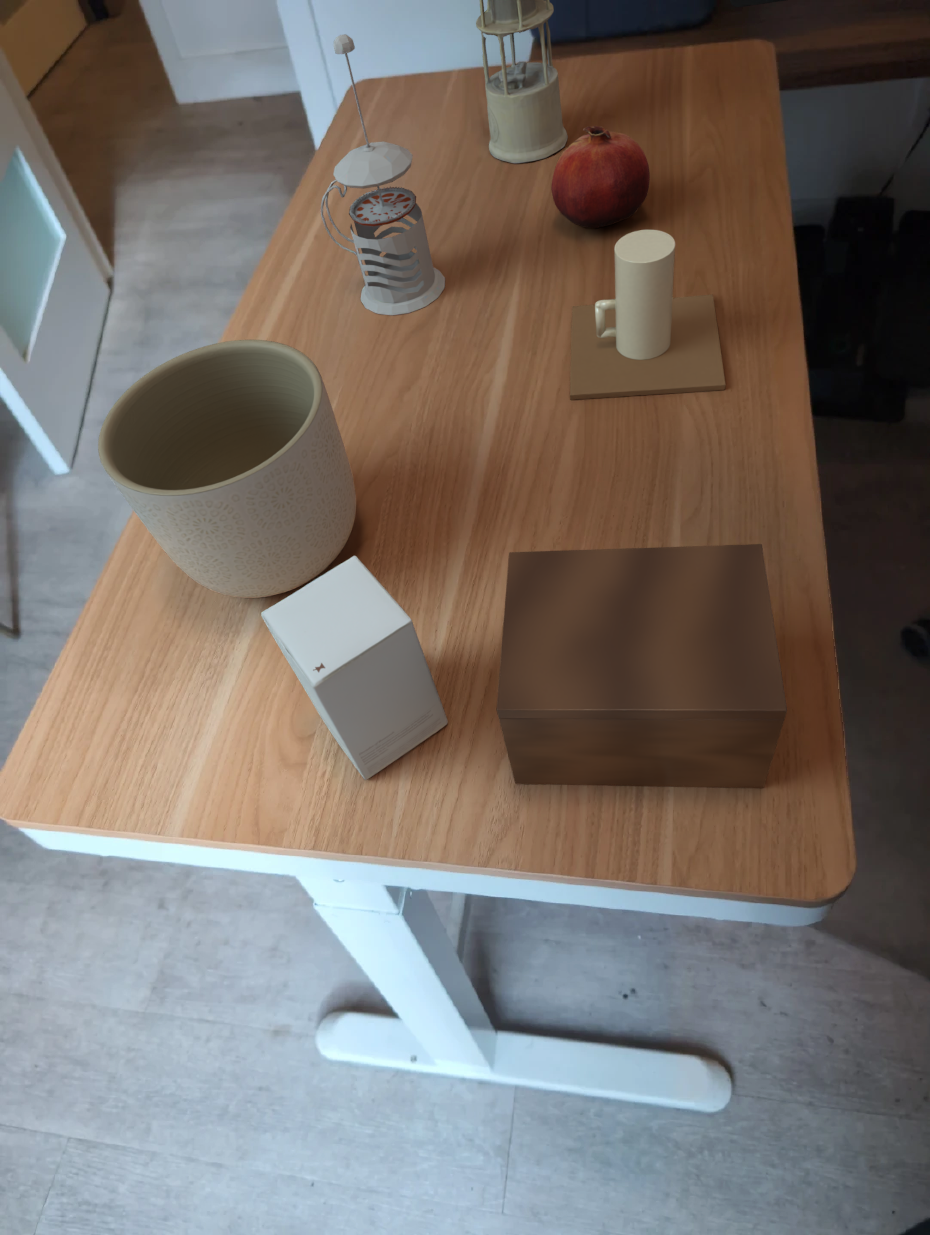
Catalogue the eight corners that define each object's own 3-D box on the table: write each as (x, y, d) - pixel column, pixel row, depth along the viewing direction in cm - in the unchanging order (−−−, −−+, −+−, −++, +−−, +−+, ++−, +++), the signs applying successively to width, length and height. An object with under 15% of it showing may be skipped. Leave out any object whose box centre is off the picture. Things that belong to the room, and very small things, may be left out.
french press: (434, 314, 90) (379, 54, 70) (334, 316, 93) (254, 66, 73) (453, 262, 95) (407, 7, 75) (358, 266, 98) (289, 20, 78)
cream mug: (669, 324, 82) (673, 226, 74) (672, 357, 79) (677, 259, 71) (596, 330, 83) (593, 234, 75) (596, 363, 80) (592, 267, 72)
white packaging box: (452, 724, 60) (416, 621, 50) (364, 783, 58) (308, 689, 48) (399, 658, 64) (356, 551, 54) (316, 712, 62) (255, 611, 52)
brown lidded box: (744, 634, 60) (761, 543, 52) (763, 788, 53) (787, 710, 45) (523, 637, 63) (508, 551, 55) (515, 783, 56) (496, 710, 48)
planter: (332, 639, 66) (266, 506, 54) (151, 611, 71) (52, 484, 59) (399, 485, 75) (355, 342, 63) (234, 470, 80) (164, 334, 68)
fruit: (547, 245, 94) (540, 155, 86) (562, 199, 100) (556, 109, 92) (643, 244, 91) (644, 150, 83) (653, 196, 97) (655, 103, 89)
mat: (712, 299, 84) (713, 294, 83) (725, 390, 76) (725, 384, 75) (572, 311, 86) (572, 306, 86) (570, 400, 78) (569, 395, 78)
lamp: (477, 163, 108) (435, -138, 85) (511, 115, 115) (480, -176, 91) (553, 164, 105) (531, -148, 81) (583, 115, 111) (571, -187, 88)
